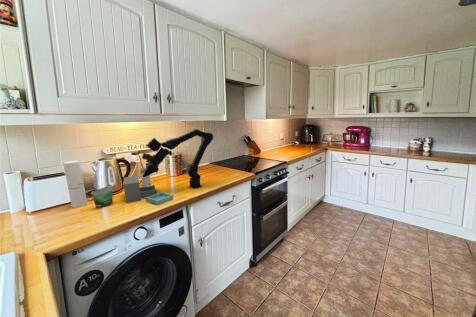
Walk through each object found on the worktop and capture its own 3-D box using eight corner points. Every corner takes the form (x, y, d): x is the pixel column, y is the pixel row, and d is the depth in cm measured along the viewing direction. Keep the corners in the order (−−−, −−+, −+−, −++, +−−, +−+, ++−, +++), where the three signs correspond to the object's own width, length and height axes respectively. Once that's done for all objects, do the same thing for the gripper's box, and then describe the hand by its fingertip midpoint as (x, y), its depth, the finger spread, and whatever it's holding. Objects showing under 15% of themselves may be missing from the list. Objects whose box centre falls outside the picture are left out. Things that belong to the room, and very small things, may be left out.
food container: (103, 209, 116) (100, 191, 114) (93, 208, 117) (90, 191, 115) (120, 200, 127) (117, 184, 125) (110, 200, 129) (108, 184, 127)
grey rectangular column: (90, 203, 125) (82, 160, 120) (77, 208, 118) (69, 163, 114) (81, 201, 127) (73, 160, 122) (68, 206, 121) (60, 163, 116)
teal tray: (162, 195, 133) (161, 191, 133) (173, 199, 127) (172, 195, 127) (146, 201, 125) (146, 197, 124) (157, 205, 119) (157, 201, 118)
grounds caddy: (150, 184, 138) (148, 167, 136) (151, 186, 134) (149, 169, 131) (142, 185, 136) (139, 168, 134) (142, 187, 132) (140, 170, 129)
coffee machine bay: (154, 189, 145) (153, 173, 143) (157, 197, 131) (155, 179, 129) (126, 194, 138) (124, 177, 136) (126, 202, 124) (123, 184, 122)
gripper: (148, 146, 140) (131, 165, 138) (150, 150, 124) (131, 171, 121) (162, 157, 145) (146, 175, 142) (166, 162, 129) (148, 182, 126)
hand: (142, 176), depth 133 cm, fingers closed on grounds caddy, 5 cm apart
